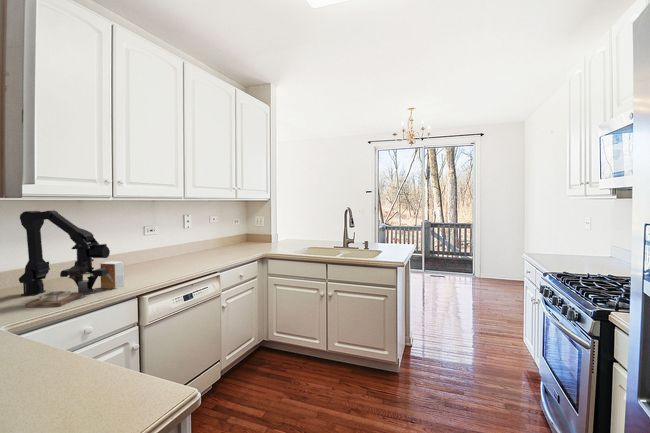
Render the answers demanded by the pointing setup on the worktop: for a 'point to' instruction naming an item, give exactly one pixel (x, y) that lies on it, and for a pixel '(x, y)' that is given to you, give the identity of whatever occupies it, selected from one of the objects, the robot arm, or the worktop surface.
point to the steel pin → (84, 287)
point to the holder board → (54, 299)
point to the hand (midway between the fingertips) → (85, 290)
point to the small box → (113, 275)
